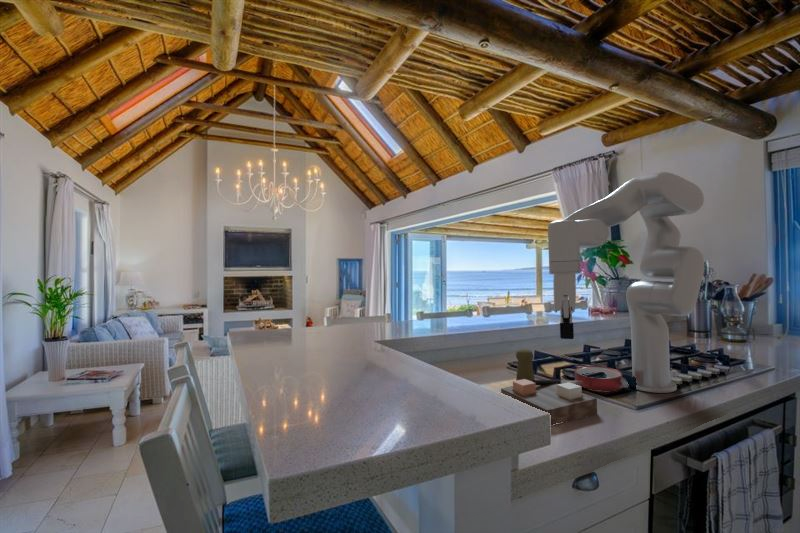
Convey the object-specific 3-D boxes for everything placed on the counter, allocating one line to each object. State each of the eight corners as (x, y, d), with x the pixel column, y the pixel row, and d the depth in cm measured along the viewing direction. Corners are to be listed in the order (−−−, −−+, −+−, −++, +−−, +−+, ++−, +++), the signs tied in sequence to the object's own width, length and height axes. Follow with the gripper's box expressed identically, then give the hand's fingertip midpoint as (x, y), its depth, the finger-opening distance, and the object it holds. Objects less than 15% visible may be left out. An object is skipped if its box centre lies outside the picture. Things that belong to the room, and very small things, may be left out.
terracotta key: (525, 389, 110) (525, 378, 110) (535, 393, 106) (535, 383, 106) (513, 391, 109) (512, 381, 109) (523, 396, 105) (522, 385, 105)
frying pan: (562, 412, 102) (561, 388, 102) (523, 398, 114) (522, 376, 114) (631, 387, 119) (630, 366, 119) (591, 376, 130) (590, 357, 130)
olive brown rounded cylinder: (537, 387, 121) (535, 352, 121) (516, 387, 123) (515, 352, 122) (534, 381, 127) (533, 347, 127) (515, 381, 129) (513, 347, 128)
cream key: (569, 392, 106) (568, 382, 106) (581, 397, 102) (581, 386, 102) (557, 395, 104) (556, 384, 104) (569, 400, 100) (569, 389, 100)
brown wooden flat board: (546, 392, 117) (545, 379, 117) (597, 413, 100) (596, 398, 100) (501, 402, 111) (500, 388, 111) (548, 426, 94) (547, 410, 94)
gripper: (550, 267, 111) (552, 332, 111) (548, 269, 97) (550, 343, 97) (579, 266, 108) (581, 333, 108) (581, 268, 94) (584, 345, 94)
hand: (567, 338), depth 103 cm, fingers closed
